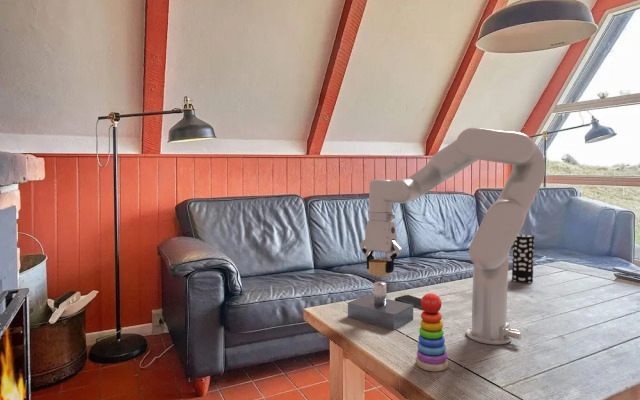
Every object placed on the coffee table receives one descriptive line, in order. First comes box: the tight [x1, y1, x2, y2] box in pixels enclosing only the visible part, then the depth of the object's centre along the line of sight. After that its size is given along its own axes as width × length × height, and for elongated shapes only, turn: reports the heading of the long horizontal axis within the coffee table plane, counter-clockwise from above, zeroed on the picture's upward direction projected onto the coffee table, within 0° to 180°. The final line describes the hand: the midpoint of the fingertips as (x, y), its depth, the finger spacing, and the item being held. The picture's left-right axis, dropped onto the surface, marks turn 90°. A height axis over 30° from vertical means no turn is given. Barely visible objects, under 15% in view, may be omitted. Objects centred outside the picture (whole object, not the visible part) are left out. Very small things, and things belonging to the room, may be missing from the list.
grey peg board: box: [347, 281, 414, 331], centre depth 144 cm, size 18×12×12 cm, turn 48°
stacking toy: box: [415, 292, 449, 372], centre depth 110 cm, size 8×8×19 cm
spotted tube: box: [511, 233, 535, 284], centre depth 189 cm, size 8×8×20 cm
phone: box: [394, 294, 424, 311], centre depth 160 cm, size 8×1×15 cm
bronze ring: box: [368, 258, 391, 277], centre depth 143 cm, size 7×7×4 cm
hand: (379, 269), depth 143 cm, fingers closed on bronze ring, 7 cm apart
